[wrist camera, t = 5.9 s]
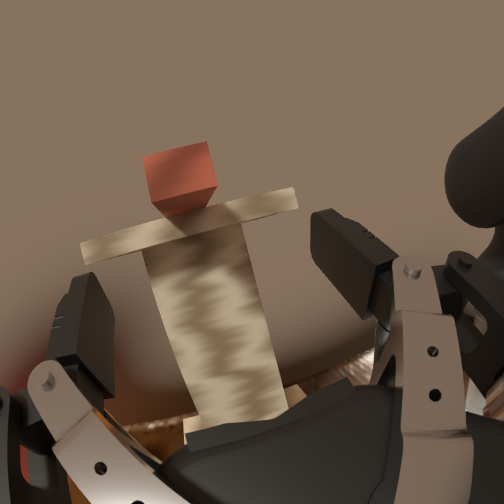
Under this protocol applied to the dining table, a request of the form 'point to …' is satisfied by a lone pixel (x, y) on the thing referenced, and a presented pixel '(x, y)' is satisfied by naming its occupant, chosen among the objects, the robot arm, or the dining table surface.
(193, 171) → the lacquered bar
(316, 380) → the dining table surface
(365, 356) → the dining table surface
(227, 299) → the beech pedestal
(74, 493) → the dining table surface
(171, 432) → the dining table surface
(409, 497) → the robot arm
